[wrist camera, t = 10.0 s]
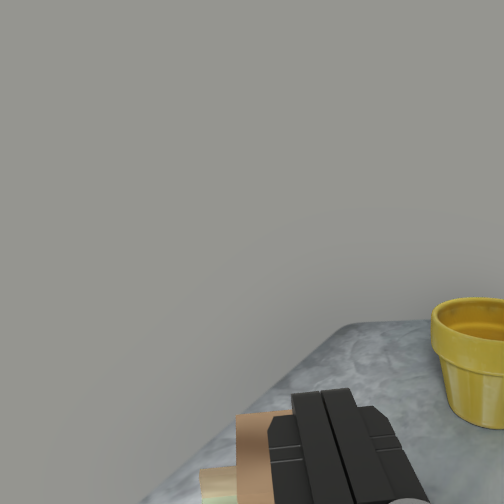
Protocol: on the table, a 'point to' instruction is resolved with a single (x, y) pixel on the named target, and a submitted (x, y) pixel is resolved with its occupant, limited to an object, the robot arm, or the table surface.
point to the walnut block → (254, 457)
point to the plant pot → (472, 357)
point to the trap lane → (218, 485)
